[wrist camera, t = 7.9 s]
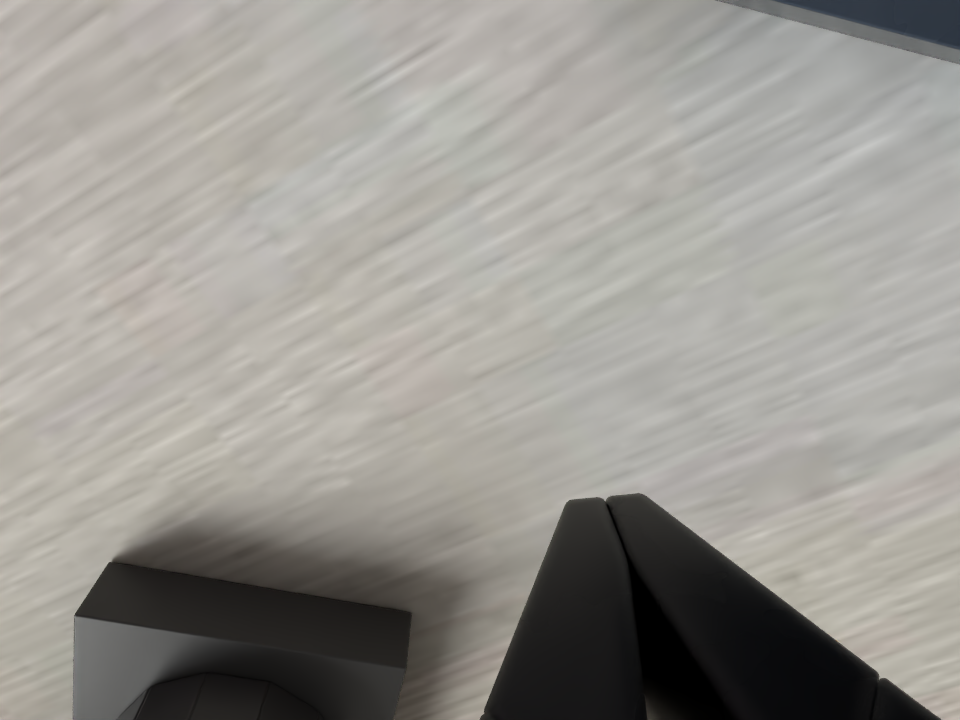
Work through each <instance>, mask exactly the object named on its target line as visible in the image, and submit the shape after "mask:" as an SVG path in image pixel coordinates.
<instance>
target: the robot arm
mask: <svg viewBox="0 0 960 720" xmlns="http://www.w3.org/2000/svg"><path fill="white" fill-rule="evenodd" d="M480 720H941V719H940V718H939V717H937V716H936V715H934V714H933V713H932V712H930V711H929V710H928V709H926V708H925V707H923V706H922V705H921V704H919V703H918V702H917V701H915V700H914V699H913V698H911V697H910V696H909V695H908V694H906V693H905V692H904V691H902V690H901V689H900V688H898V687H897V686H896V685H894V684H893V683H892V682H890V681H889V680H888V679H886V678H881V679H880V680H879V674H878V672H877V671H875V670H874V669H873V668H872V667H870V666H869V665H868V664H866V663H865V662H864V661H862V660H861V659H860V658H858V657H857V656H856V655H854V654H853V653H852V652H850V651H849V650H848V649H847V648H845V647H844V646H843V645H841V644H840V643H839V642H837V641H836V640H835V639H833V638H832V637H831V636H829V635H828V634H827V633H826V632H824V631H823V630H822V629H820V628H819V627H818V626H816V625H815V624H814V623H812V622H811V621H810V620H808V619H807V618H806V617H804V616H803V615H802V614H801V613H799V612H798V611H797V610H795V609H794V608H793V607H791V606H790V605H789V604H787V603H786V602H785V601H783V600H782V599H781V598H780V597H778V596H777V595H776V594H774V593H773V592H772V591H770V590H769V589H768V588H766V587H765V586H764V585H762V584H761V583H760V582H759V581H757V580H756V579H755V578H753V577H752V576H751V575H749V574H748V573H747V572H745V571H744V570H743V569H741V568H740V567H739V566H737V565H736V564H735V563H734V562H732V561H731V560H730V559H728V558H727V557H726V556H724V555H723V554H722V553H720V552H719V551H718V550H716V549H715V548H714V547H713V546H711V545H710V544H709V543H707V542H706V541H705V540H703V539H702V538H701V537H699V536H698V535H697V534H695V533H694V532H693V531H691V530H690V529H689V528H688V527H686V526H685V525H684V524H682V523H681V522H680V521H678V520H677V519H676V518H674V517H673V516H672V515H670V514H669V513H668V512H667V511H665V510H664V509H663V508H661V507H660V506H659V505H657V504H656V503H655V502H653V501H652V500H651V499H649V498H648V497H647V496H645V495H643V494H640V493H636V494H627V495H616V496H610V497H608V498H607V499H606V502H605V501H604V499H602V498H599V497H596V498H585V499H574V500H569V501H568V502H567V503H566V505H565V507H564V509H563V512H562V514H561V517H560V519H559V522H558V524H557V527H556V529H555V532H554V534H553V537H552V540H551V542H550V545H549V547H548V550H547V552H546V555H545V557H544V560H543V562H542V565H541V567H540V570H539V572H538V575H537V577H536V580H535V582H534V585H533V588H532V590H531V593H530V595H529V598H528V600H527V603H526V605H525V608H524V610H523V613H522V615H521V618H520V620H519V623H518V625H517V628H516V630H515V633H514V636H513V638H512V641H511V643H510V646H509V648H508V651H507V653H506V656H505V658H504V661H503V663H502V666H501V668H500V671H499V673H498V676H497V679H496V681H495V684H494V686H493V689H492V691H491V694H490V696H489V699H488V701H487V704H486V706H485V709H484V714H483V715H482V716H481V718H480Z"/></svg>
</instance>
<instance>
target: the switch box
mask: <svg viewBox="0 0 960 720" xmlns="http://www.w3.org/2000/svg"><path fill="white" fill-rule="evenodd" d="M411 617H412V615H411V613H409V612H403V611H397V610H391V609H385V608H379V607H374V606H368V605H362V604H356V603H350V602H344V601H338V600H332V599H326V598H320V597H314V596H308V595H302V594H296V593H291V592H285V591H279V590H273V589H267V588H261V587H255V586H249V585H243V584H237V583H231V582H225V581H219V580H214V579H208V578H202V577H196V576H190V575H184V574H178V573H172V572H166V571H160V570H154V569H148V568H142V567H137V566H131V565H125V564H119V563H113V562H109V563H108V565H107V566H106V568H105V569H104V571H103V572H102V574H101V575H100V577H99V578H98V580H97V581H96V583H95V584H94V586H93V587H92V589H91V590H90V592H89V594H88V595H87V597H86V598H85V600H84V601H83V603H82V604H81V606H80V607H79V609H78V610H77V612H76V613H75V615H74V671H73V720H393V719H394V715H395V711H396V707H397V703H398V699H399V696H400V692H401V688H402V684H403V680H404V676H405V672H406V668H407V657H408V647H409V637H410V627H411Z"/></svg>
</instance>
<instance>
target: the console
mask: <svg viewBox="0 0 960 720" xmlns="http://www.w3.org/2000/svg"><path fill="white" fill-rule="evenodd" d="M716 1H720V2H724V3H728V4H732V5H736V6H739V7H743V8H747V9H751V10H755V11H758V12H762V13H766V14H770V15H774V16H777V17H781V18H785V19H789V20H793V21H797V22H800V23H804V24H808V25H812V26H816V27H819V28H823V29H827V30H831V31H835V32H838V33H842V34H846V35H850V36H854V37H858V38H861V39H865V40H869V41H873V42H877V43H880V44H884V45H888V46H892V47H896V48H899V49H903V50H907V51H911V52H915V53H919V54H922V55H926V56H930V57H934V58H938V59H941V60H945V61H949V62H953V63H957V64H960V0H716Z"/></svg>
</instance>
